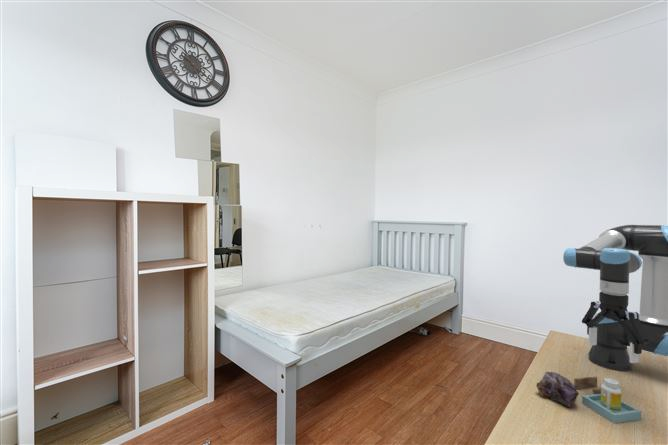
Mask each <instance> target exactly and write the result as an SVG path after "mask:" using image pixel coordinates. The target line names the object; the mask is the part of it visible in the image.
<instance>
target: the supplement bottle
mask: <svg viewBox="0 0 668 445" xmlns="http://www.w3.org/2000/svg"><path fill="white" fill-rule="evenodd" d="M619 387H620V382H619V381H617V380H616V379H614V378H609V377H605V378H604V379H603V383H601V386H600V388H601V401H600V404H601V406H603V407H605V408H606V409H608V410H610V411H613V412H620V411H621V401H622V394H623V392H622V390H621V388H619Z"/></svg>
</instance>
